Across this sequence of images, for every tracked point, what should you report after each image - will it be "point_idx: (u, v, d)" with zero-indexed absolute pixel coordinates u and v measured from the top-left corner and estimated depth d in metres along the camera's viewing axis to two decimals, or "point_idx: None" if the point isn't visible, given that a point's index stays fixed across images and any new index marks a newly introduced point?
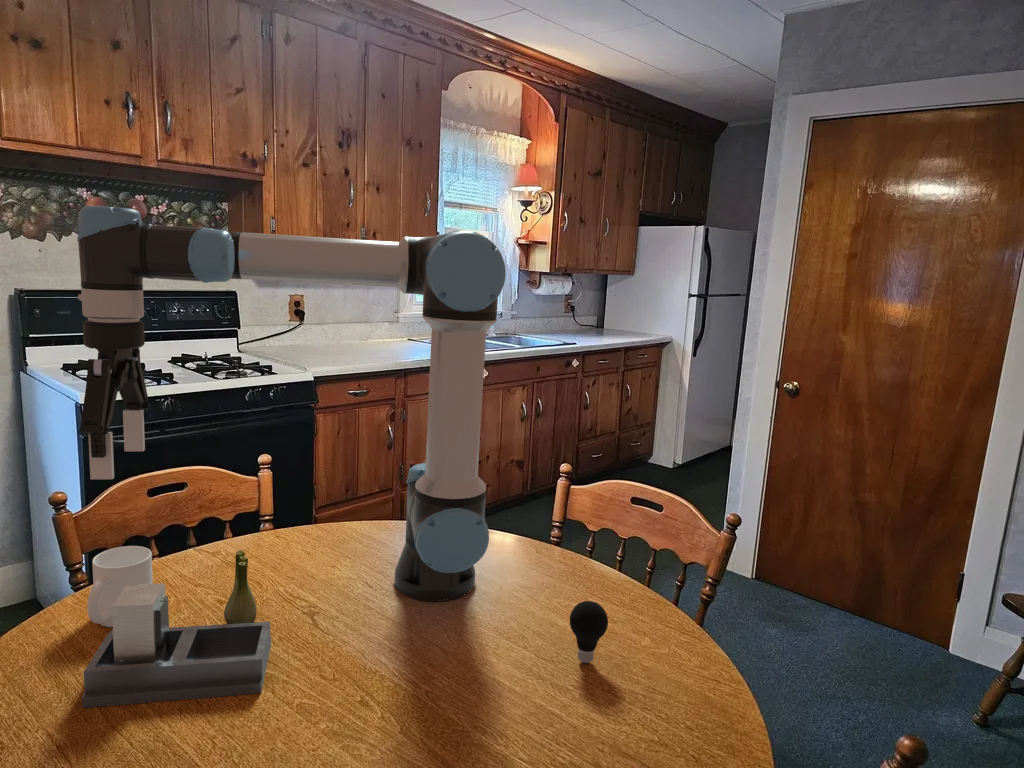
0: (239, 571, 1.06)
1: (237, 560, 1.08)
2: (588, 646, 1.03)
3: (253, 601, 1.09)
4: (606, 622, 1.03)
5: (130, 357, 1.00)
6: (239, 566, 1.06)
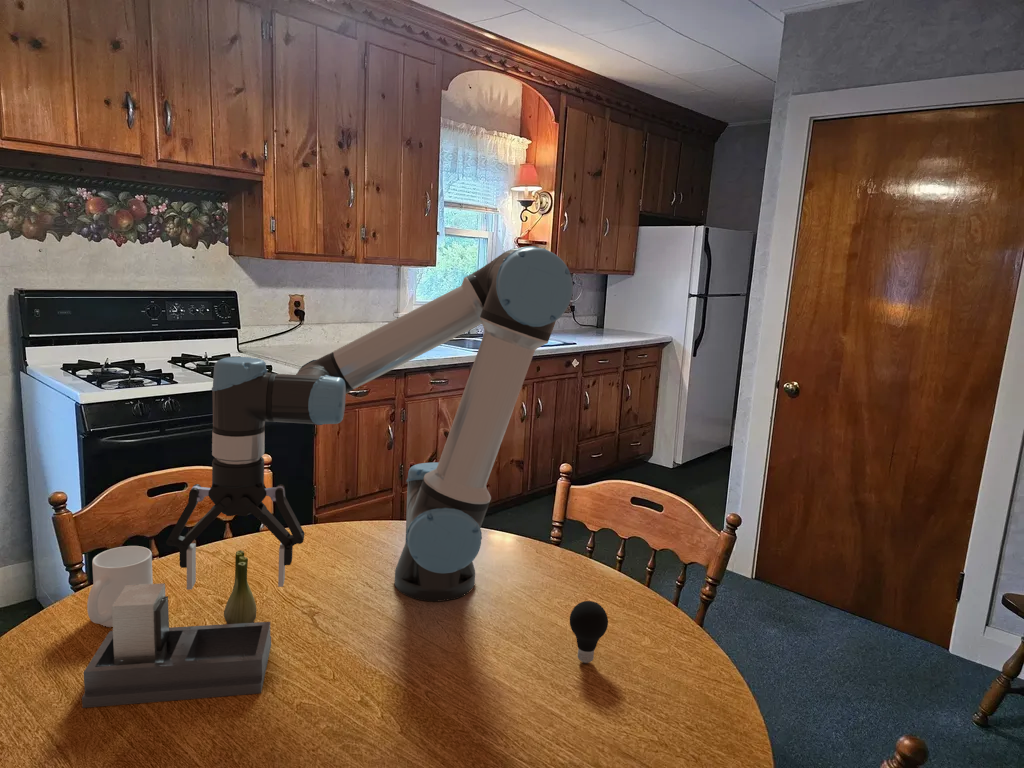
0: (239, 571, 1.06)
1: (237, 560, 1.08)
2: (588, 646, 1.03)
3: (253, 601, 1.09)
4: (606, 622, 1.03)
5: (256, 495, 1.06)
6: (239, 566, 1.06)
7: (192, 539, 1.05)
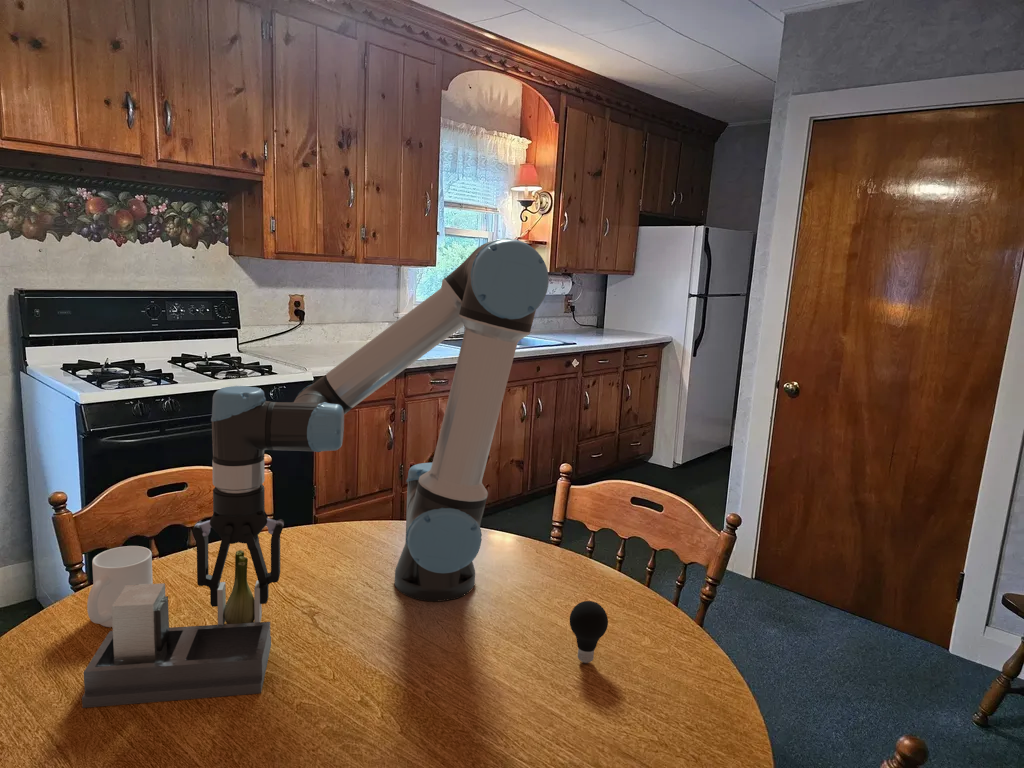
0: (239, 571, 1.06)
1: (237, 560, 1.08)
2: (588, 646, 1.03)
3: (253, 601, 1.09)
4: (606, 622, 1.03)
5: (257, 522, 1.07)
6: (239, 566, 1.06)
7: (218, 576, 1.07)
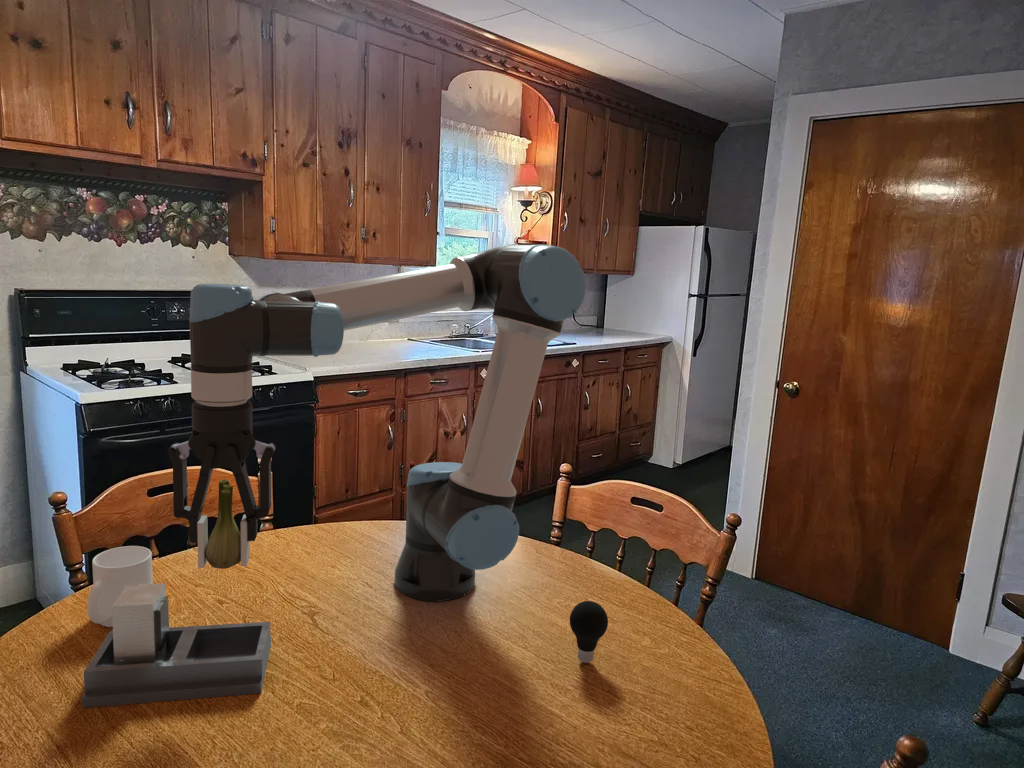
0: (222, 500, 0.91)
1: (220, 489, 0.93)
2: (588, 646, 1.03)
3: (239, 537, 0.94)
4: (606, 622, 1.03)
5: (243, 443, 0.92)
6: (222, 494, 0.91)
7: (198, 506, 0.92)
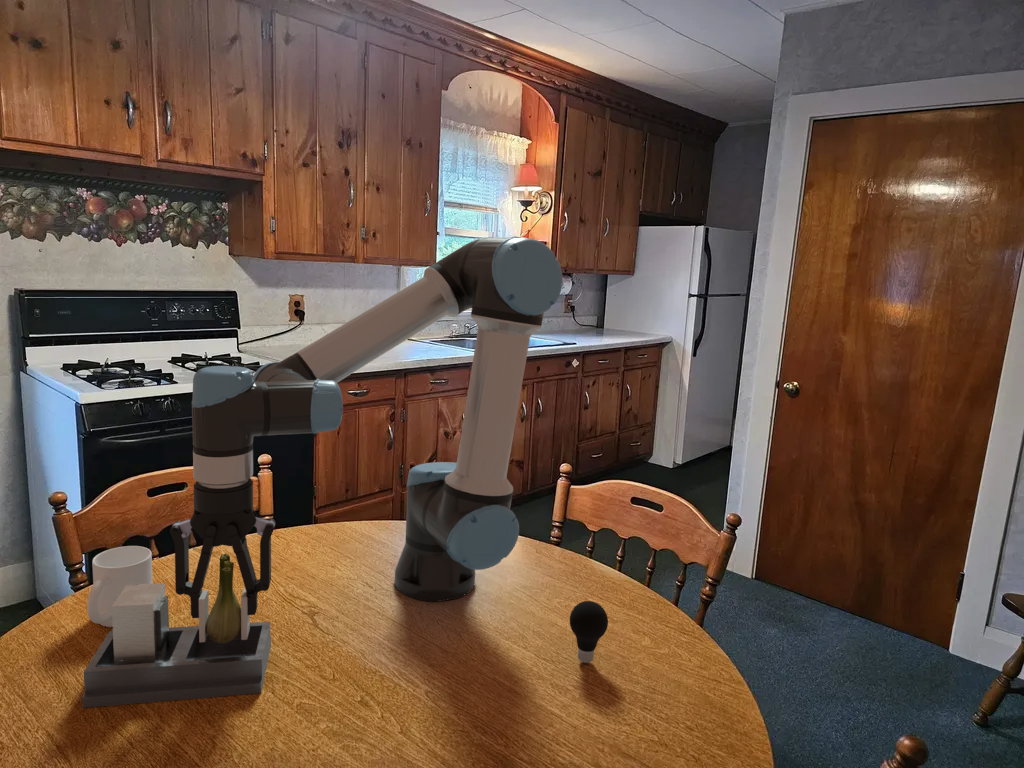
0: (223, 578, 0.93)
1: (221, 565, 0.95)
2: (588, 646, 1.03)
3: (239, 612, 0.96)
4: (606, 622, 1.03)
5: (244, 522, 0.93)
6: (223, 572, 0.92)
7: (200, 583, 0.94)
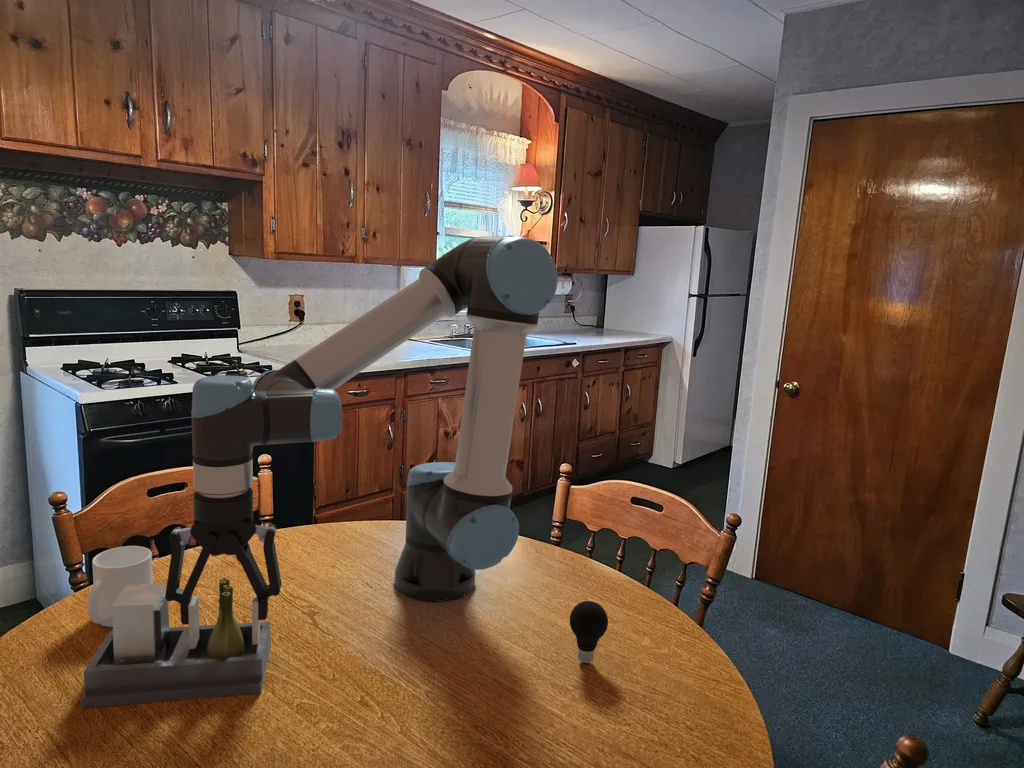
0: (222, 602, 0.93)
1: (221, 589, 0.96)
2: (588, 646, 1.03)
3: (240, 635, 0.97)
4: (606, 622, 1.03)
5: (244, 531, 0.94)
6: (222, 597, 0.93)
7: (191, 590, 0.93)
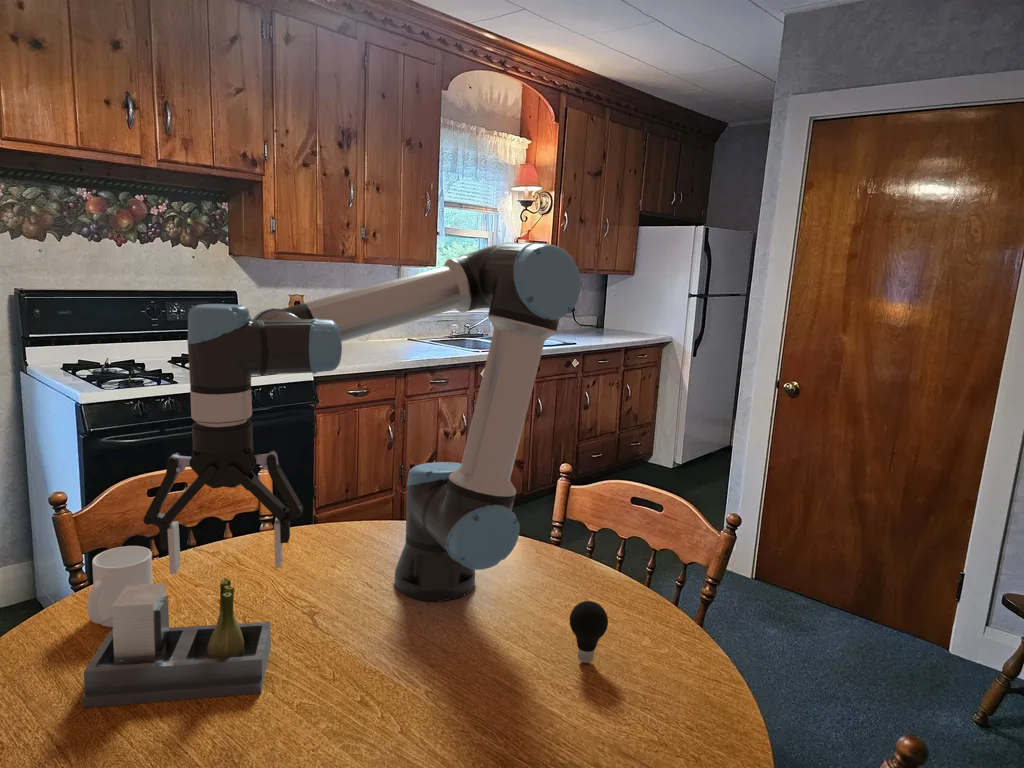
0: (224, 603, 0.93)
1: (222, 590, 0.96)
2: (588, 646, 1.03)
3: (240, 636, 0.97)
4: (606, 622, 1.03)
5: (245, 463, 0.92)
6: (224, 597, 0.93)
7: (173, 516, 0.91)
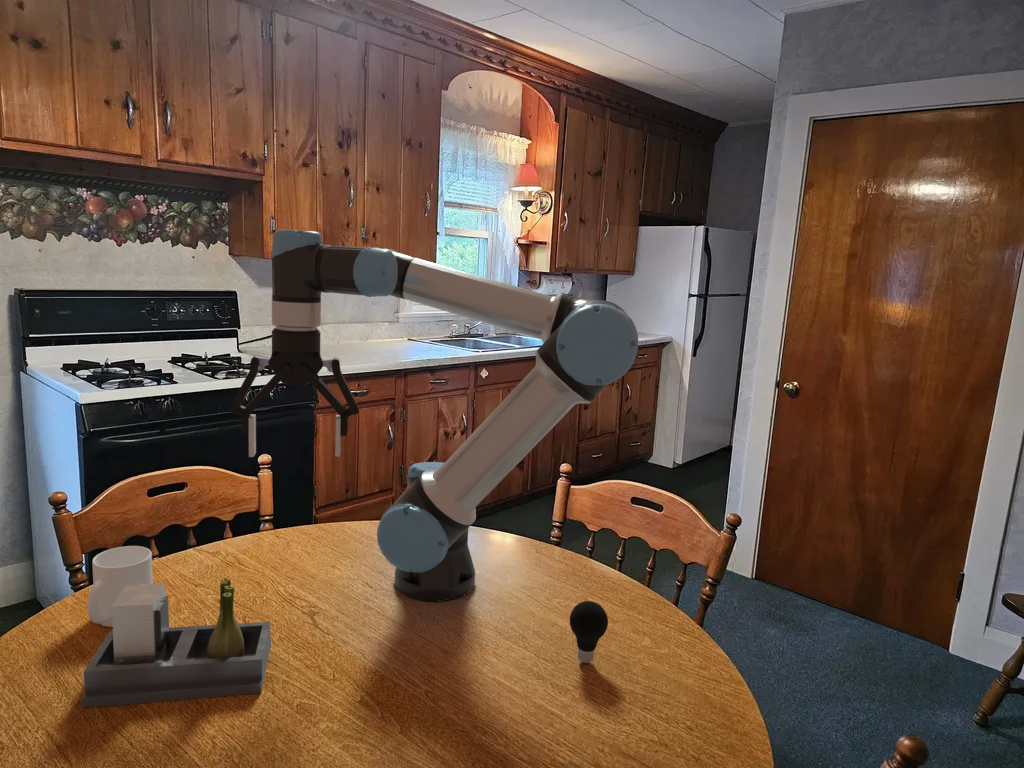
0: (224, 603, 0.93)
1: (222, 590, 0.96)
2: (588, 646, 1.03)
3: (240, 636, 0.97)
4: (606, 622, 1.03)
5: (314, 365, 1.10)
6: (224, 597, 0.93)
7: (253, 407, 1.09)
